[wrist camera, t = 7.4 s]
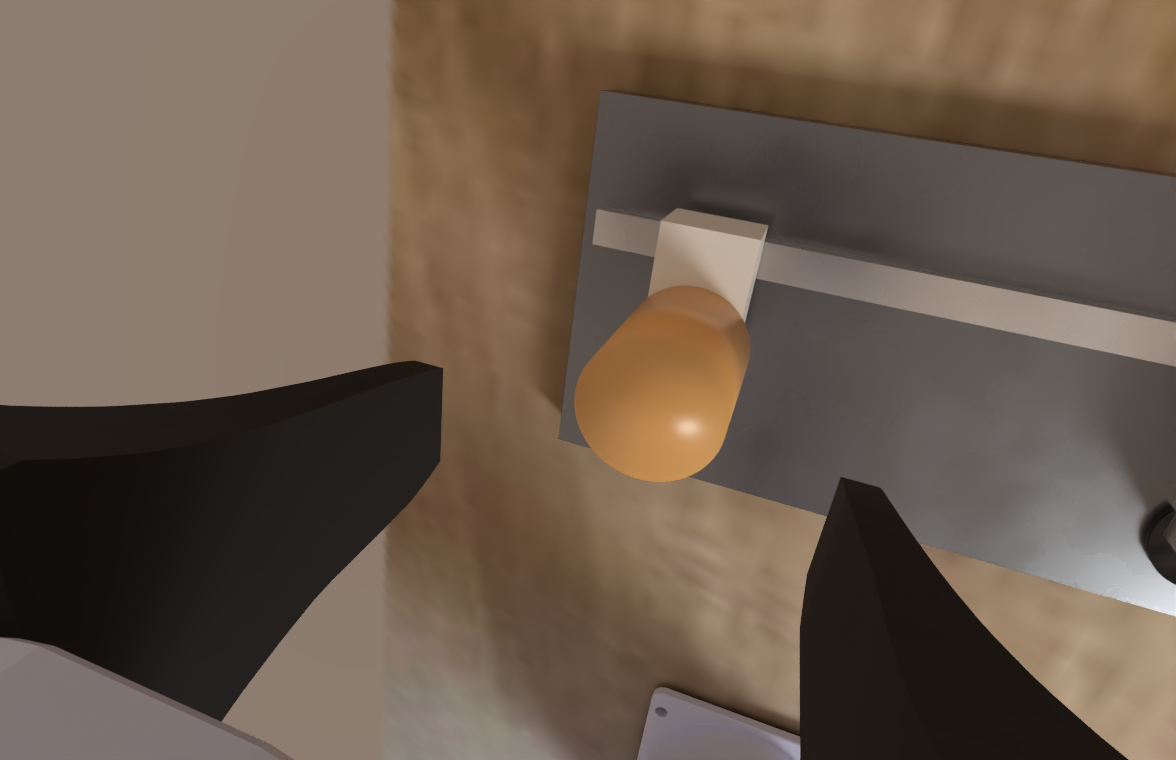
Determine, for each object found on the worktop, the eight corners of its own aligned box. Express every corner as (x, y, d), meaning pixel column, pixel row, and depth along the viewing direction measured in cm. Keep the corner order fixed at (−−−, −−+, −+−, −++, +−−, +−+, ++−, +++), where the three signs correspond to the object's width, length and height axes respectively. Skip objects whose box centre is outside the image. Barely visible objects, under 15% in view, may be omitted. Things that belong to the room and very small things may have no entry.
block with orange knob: (730, 443, 20) (691, 573, 15) (628, 416, 21) (556, 530, 16) (785, 226, 17) (761, 289, 12) (664, 203, 18) (592, 253, 13)
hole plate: (1309, 630, 19) (1424, 762, 15) (570, 423, 24) (522, 484, 20) (1623, 242, 14) (1901, 298, 10) (613, 90, 19) (560, 91, 16)
